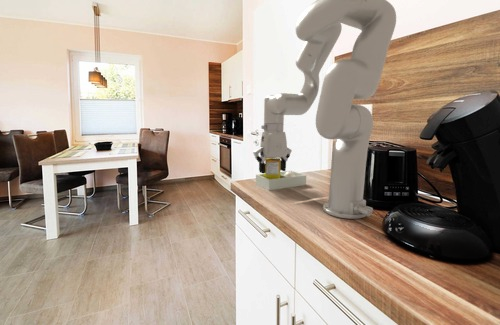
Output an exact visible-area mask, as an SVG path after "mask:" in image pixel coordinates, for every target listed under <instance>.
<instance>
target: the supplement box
mask: <svg viewBox="0 0 500 325" xmlns="http://www.w3.org/2000/svg"><path fill="white" fill-rule="evenodd" d="M280 160H281V159H280V158H267V159H266V160H265V162H264V163H265V173H264V174H265V178H267V179H277V178H280V172H281V170H280V167H281V161H280Z"/></svg>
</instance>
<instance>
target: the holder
mask: <svg viewBox="0 0 500 325" xmlns="http://www.w3.org/2000/svg"><path fill="white" fill-rule="evenodd" d="M289 171H290V172H293V173H294V174H295V176H293V177H286V176H284V174H285V173H286V172H289ZM255 185H257V186H259V187H261V188H263V189H265V190H267V191H274V190H275V191H276V190H282V189H287V188H295V187H302V186H306V185H307V174H304V173H301V172H298V171H297V172H296V171H293V170H287V171H280V178H277V179H267V178H265V173H259V174H255Z"/></svg>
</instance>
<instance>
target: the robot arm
mask: <svg viewBox="0 0 500 325" xmlns="http://www.w3.org/2000/svg"><path fill="white" fill-rule="evenodd" d="M396 24H397V11H396V10H395V8H394V6H393V4H391V3H390V2H389V1H388V0H315V1H314V2H313V3H311V4H310V5H309V6H307V7H306V8H305V10H304V11H303V12H302V13H301V15H299V17H298V19H297V21H296V24H295V34H296V37H297V38H298V39H299V40H300V41H304V43H303V46H302V48H301V50H300V51H299V53H298V56H297V58H296V60H295V65H296V67H297V68H298V70H299V71H300V72H302V73H303V75H304V83H303V85H302V87H301V89H300V91H299V93H285V92H284V93H282V92H281V93H278V94H276V95H275V94H271V95H266V96H265V98H264V101H263V103H264V104H263V106H264V107H263V108H264V113H263V114H264V115H263V125H261V129H262V130H263V131H262V134H261V137H260V138H261V139H260V146H259V148H257V149H256V150H254V151H253V152H252V153H253V156H254V158H255V160H257V162H258V171H259V173H260V174H265V160H266V159H267V158H280V161H281V167H280V171H281V172H285V171H286V168H287V161H288V159H289V158H290V156H291V153H292V149H291V148H290V147H288V143H287V142H288V141H287V136H286V135H287V134H286V132H285V131H284V125H285V124H284V120H285V118H284V117H285V116H302V115H304V114H307V112H308V111H309V110H310V108H311V107H312V106H313V104H314V102H315V100H316V98H317V96H318V93H319V90H320V89H319V88H320V76H319V75H320V72H321V71H322V68H323V66H324V65H325V64H326V63H325V62H326V61H327V59H328V58H329V56H330V54H331V52H332V50H333V48H334V47H335V45H336V43H337V41H338V39H339V38H340V36H341V33H342V25H346V26H348V27H352V28H355V29H358V30H361V32H360V33H359V35H358V36H357V38H356V39H355V42H354V44H353V47H352V52H351V56H350V58H341V59H339V60H336V62H334V63H333V64H332V65H331V66H330V67H329V68H328V69H327V71H326V73H325V76H324V78H323V82H322V86H321V91H320V95H319V98H318V99H319V100H318V104H317V110H316V114H315V128H316V131H317V133H318V134H319V135H320V136H321V137H322V138H324V139H327V140H335V142H334V144H333V147H332V152H331V160H330V161H331V162H330V164H331V165H330V178H329V192H328V201H327V202H325V203H324V204H323V205H322V210H323V211H324V212H325V213H326V214H327V215H330V216H333V217H335V218H341V219H349V220H353V219H354V220H355V219H356V220H357V219H358V220H359V219H362V218H365V217H371V215H372V213H373V211H374V208H373V207H371V206H368V205H367V200H366V199H364V190H365V181H366V167H367V160H368V159H367V158H368V149H369V143H370V139H371V137H372V136H371V135H372V132H373V127H374V118H373V115H372V112H371V111H370V110H369V108H367V107H365V106H363V105H361V104H357V103H356V104H355V103H354V102H353V101H354V100H360V101H361V100H367V99H369V98H372V96H374V94H376V92H377V91H378V87H379V85H380V83H381V78H382V74H383V70H384V67H385V63H386V59H387V56H388V55H387V54H388V51H389V47H390V43H391V41H392V38H393V34H394V31H395V28H396Z"/></svg>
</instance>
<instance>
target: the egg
mask: <svg viewBox="0 0 500 325" xmlns="http://www.w3.org/2000/svg"><path fill="white" fill-rule="evenodd" d="M288 171H289V172H286V173H285V174H284V176H286V177H293V176H295V174H294V173H293V172H290V171H291V170H288Z"/></svg>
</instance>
